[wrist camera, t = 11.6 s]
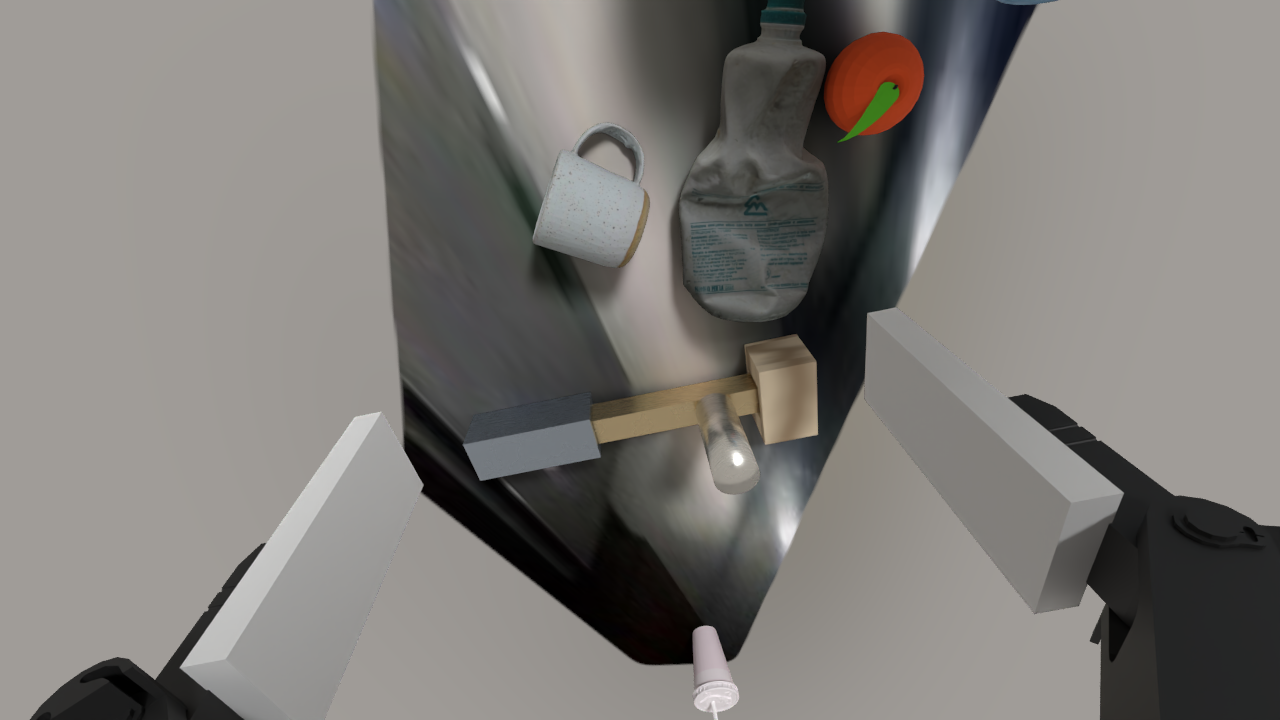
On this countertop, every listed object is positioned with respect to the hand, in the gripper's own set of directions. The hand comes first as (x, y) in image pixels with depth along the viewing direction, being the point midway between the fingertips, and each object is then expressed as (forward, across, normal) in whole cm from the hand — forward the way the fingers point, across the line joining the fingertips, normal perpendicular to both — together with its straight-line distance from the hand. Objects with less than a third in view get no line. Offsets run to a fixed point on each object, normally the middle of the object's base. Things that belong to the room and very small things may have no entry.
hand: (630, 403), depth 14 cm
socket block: (+35, +13, -24) cm, 44 cm away
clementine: (+35, +21, +2) cm, 41 cm away
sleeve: (+35, -14, -24) cm, 44 cm away
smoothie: (+35, -1, -69) cm, 77 cm away
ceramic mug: (+35, -2, -1) cm, 35 cm away
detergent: (+35, +12, -2) cm, 37 cm away
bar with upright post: (+34, +2, -24) cm, 41 cm away
